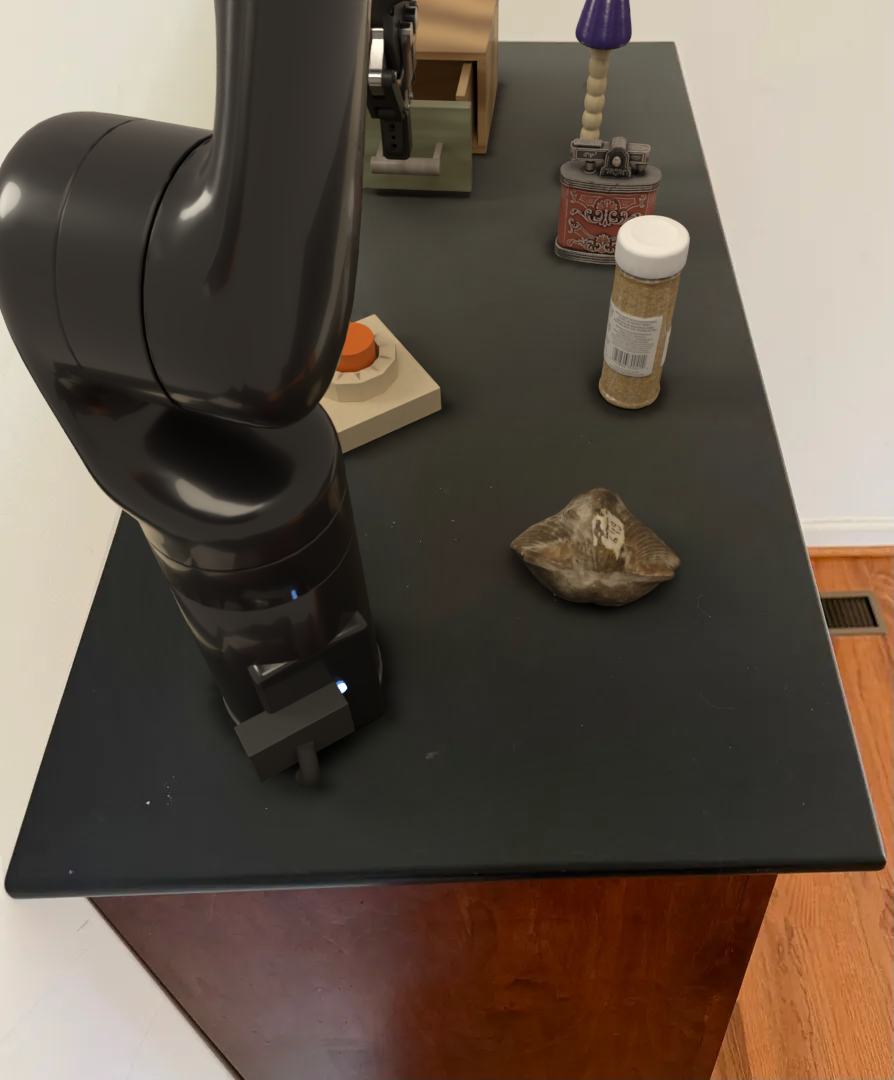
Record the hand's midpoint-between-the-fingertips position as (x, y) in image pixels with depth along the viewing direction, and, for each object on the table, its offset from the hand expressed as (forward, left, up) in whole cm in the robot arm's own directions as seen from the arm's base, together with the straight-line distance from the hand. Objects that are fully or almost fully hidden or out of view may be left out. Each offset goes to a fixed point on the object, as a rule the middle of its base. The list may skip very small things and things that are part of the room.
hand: (398, 154), depth 74 cm
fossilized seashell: (-38, +8, -8) cm, 39 cm away
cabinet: (+17, -13, -8) cm, 23 cm away
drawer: (+9, -7, -7) cm, 13 cm away
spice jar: (-26, -5, -8) cm, 27 cm away
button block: (-15, +13, -8) cm, 21 cm away
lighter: (-11, -13, -8) cm, 19 cm away
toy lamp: (-1, -19, -8) cm, 21 cm away
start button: (-15, +13, -5) cm, 20 cm away
